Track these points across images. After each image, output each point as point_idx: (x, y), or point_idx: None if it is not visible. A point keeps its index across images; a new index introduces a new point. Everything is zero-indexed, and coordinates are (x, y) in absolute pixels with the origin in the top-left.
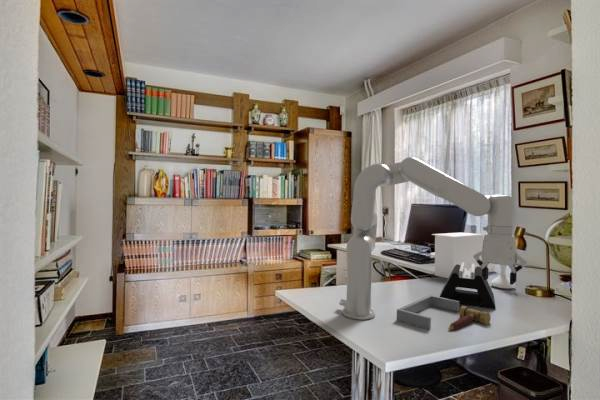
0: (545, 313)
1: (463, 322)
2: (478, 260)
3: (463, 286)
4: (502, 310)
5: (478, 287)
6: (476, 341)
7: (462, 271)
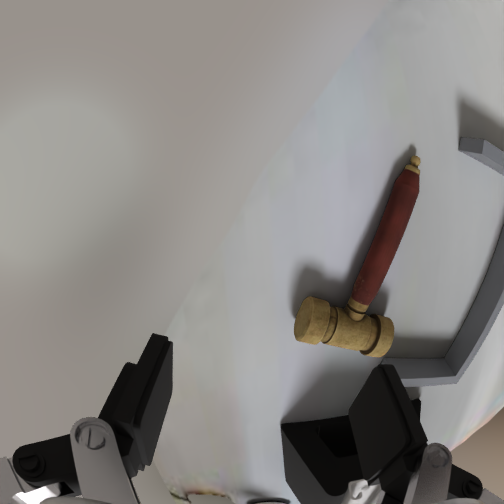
0: (175, 438)
1: (382, 230)
2: (475, 497)
3: None
4: (263, 425)
5: (332, 464)
6: (324, 101)
7: None
